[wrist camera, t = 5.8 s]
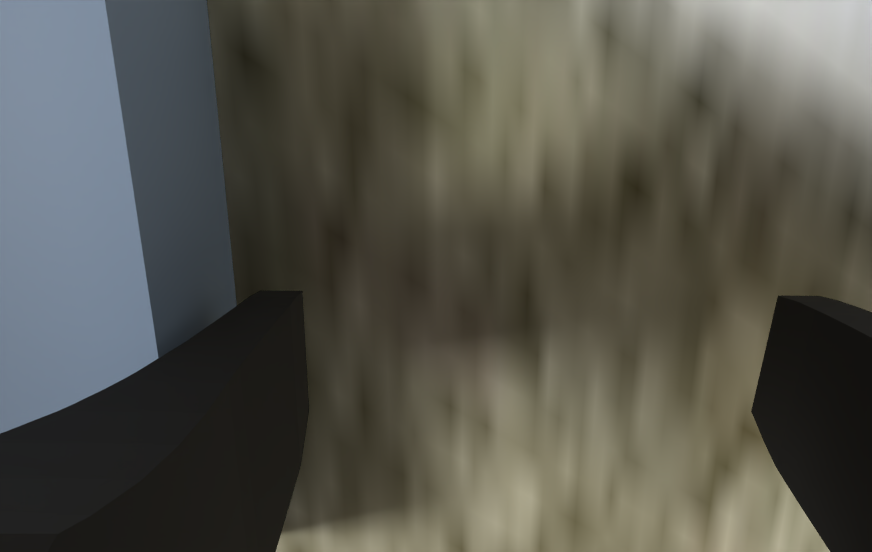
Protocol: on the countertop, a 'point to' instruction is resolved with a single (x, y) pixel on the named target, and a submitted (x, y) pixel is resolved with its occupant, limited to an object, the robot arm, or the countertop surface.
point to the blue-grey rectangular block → (105, 195)
